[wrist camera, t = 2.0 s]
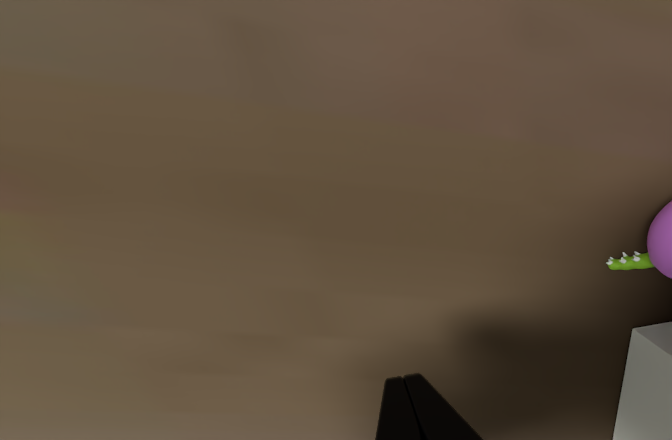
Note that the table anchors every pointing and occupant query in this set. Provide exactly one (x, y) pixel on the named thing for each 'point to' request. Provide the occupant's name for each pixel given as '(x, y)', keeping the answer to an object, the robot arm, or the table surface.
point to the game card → (652, 247)
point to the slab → (647, 386)
